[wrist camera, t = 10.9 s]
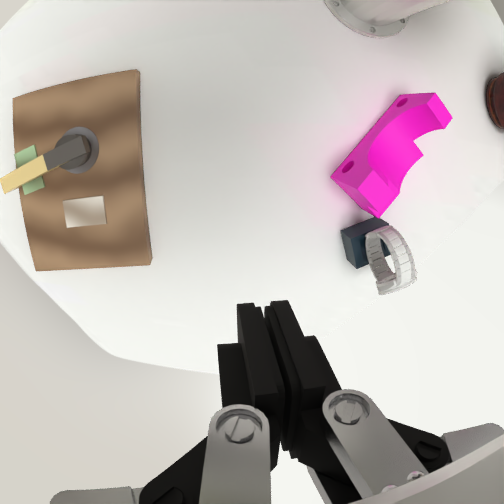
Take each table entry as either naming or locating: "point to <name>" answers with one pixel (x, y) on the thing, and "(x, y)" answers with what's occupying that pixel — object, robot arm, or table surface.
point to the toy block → (390, 151)
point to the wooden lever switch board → (85, 174)
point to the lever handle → (51, 161)
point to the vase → (496, 100)
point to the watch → (380, 253)
